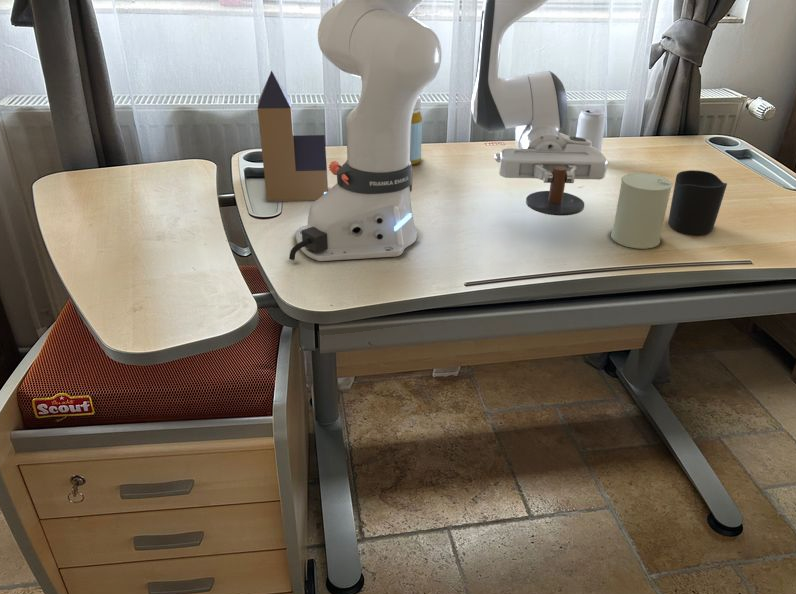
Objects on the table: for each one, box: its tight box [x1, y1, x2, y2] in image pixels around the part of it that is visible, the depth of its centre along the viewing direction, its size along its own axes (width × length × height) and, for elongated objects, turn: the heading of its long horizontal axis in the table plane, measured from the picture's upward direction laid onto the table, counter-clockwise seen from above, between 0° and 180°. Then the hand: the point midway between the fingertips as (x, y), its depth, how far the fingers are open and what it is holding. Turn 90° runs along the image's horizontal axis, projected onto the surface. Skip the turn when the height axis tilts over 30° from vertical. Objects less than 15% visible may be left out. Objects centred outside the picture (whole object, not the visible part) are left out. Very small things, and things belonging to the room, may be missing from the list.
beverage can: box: [575, 107, 607, 153], centre depth 172 cm, size 6×6×12 cm
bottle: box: [410, 95, 423, 166], centre depth 167 cm, size 7×7×15 cm
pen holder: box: [667, 169, 728, 236], centre depth 141 cm, size 9×9×10 cm
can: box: [610, 171, 673, 250], centre depth 135 cm, size 9×9×12 cm
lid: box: [525, 166, 586, 217], centre depth 132 cm, size 11×11×7 cm
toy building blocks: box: [257, 70, 329, 203], centre depth 149 cm, size 12×19×25 cm, turn 10°
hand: (559, 179), depth 130 cm, fingers closed on lid, 2 cm apart
